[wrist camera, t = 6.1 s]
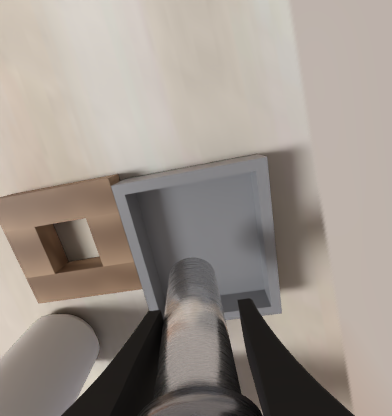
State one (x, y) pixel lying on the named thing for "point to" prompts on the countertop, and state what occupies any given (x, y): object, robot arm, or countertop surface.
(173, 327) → the pin
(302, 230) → the countertop surface
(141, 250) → the tray
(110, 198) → the hitch block
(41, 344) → the can
